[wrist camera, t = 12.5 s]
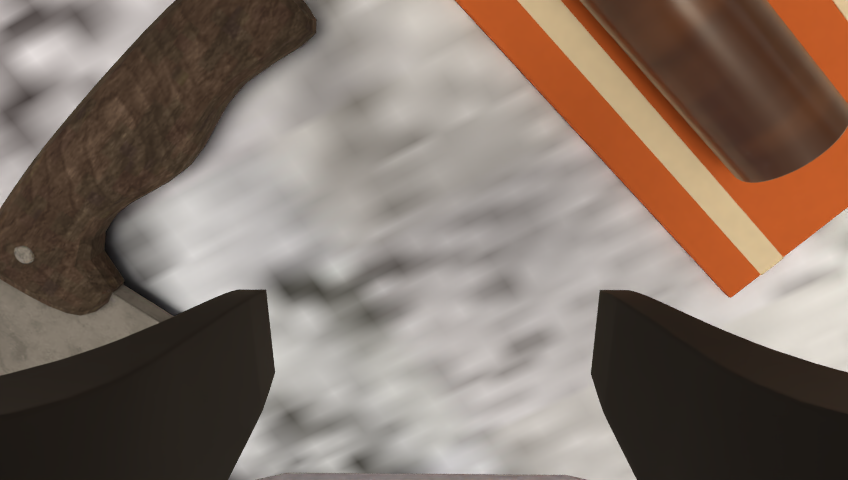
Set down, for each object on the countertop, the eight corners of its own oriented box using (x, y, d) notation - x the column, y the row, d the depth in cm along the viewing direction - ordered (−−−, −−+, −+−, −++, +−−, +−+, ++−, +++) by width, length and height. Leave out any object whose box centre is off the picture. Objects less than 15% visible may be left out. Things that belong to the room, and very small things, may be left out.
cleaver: (196, -100, 17) (164, -121, 15) (433, 97, 19) (432, 102, 17) (-126, 468, 25) (-175, 504, 23) (63, 569, 27) (33, 610, 25)
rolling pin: (787, 103, 19) (882, 97, 15) (712, 178, 19) (788, 189, 16) (580, -151, 16) (636, -226, 13) (499, -61, 17) (532, -110, 13)
